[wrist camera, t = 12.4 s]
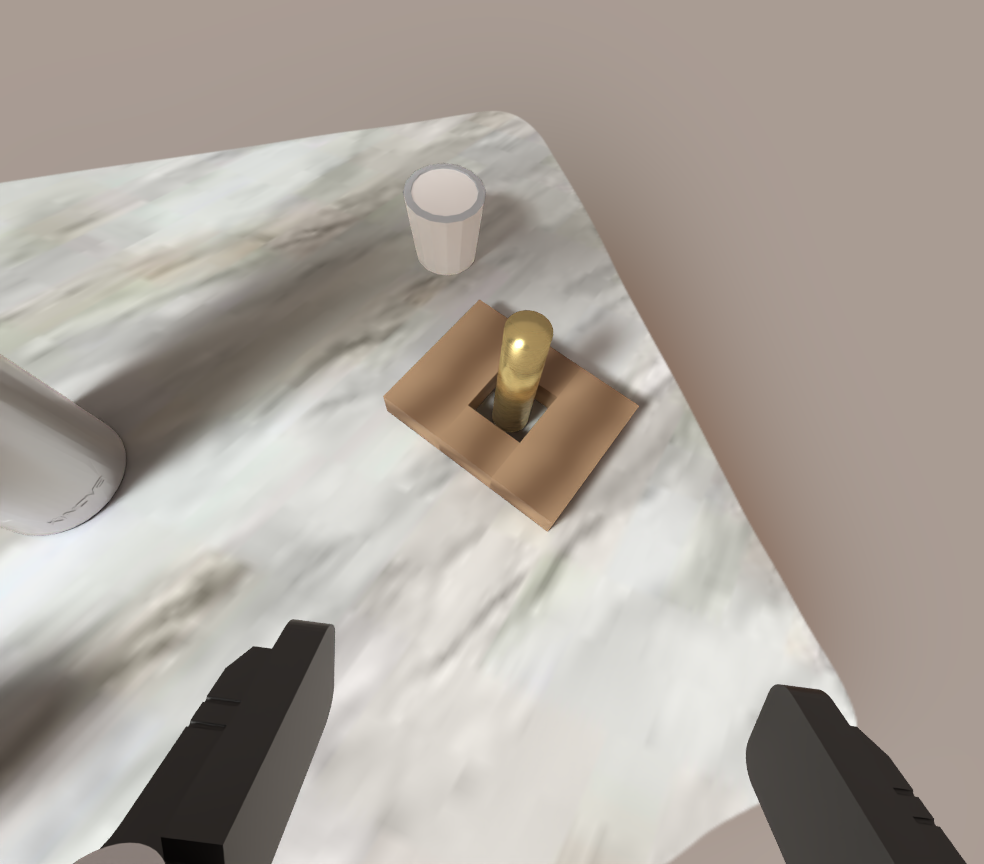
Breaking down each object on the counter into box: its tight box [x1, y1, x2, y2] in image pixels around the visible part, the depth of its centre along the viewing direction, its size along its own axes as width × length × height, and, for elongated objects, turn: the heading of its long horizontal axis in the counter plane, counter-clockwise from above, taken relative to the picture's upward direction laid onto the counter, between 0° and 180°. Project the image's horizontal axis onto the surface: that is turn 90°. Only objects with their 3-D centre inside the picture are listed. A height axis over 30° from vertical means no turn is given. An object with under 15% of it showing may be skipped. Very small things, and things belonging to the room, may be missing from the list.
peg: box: [492, 310, 553, 433], centre depth 37 cm, size 3×3×12 cm
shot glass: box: [403, 163, 486, 276], centre depth 45 cm, size 7×7×7 cm
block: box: [383, 300, 639, 532], centre depth 41 cm, size 16×12×2 cm
